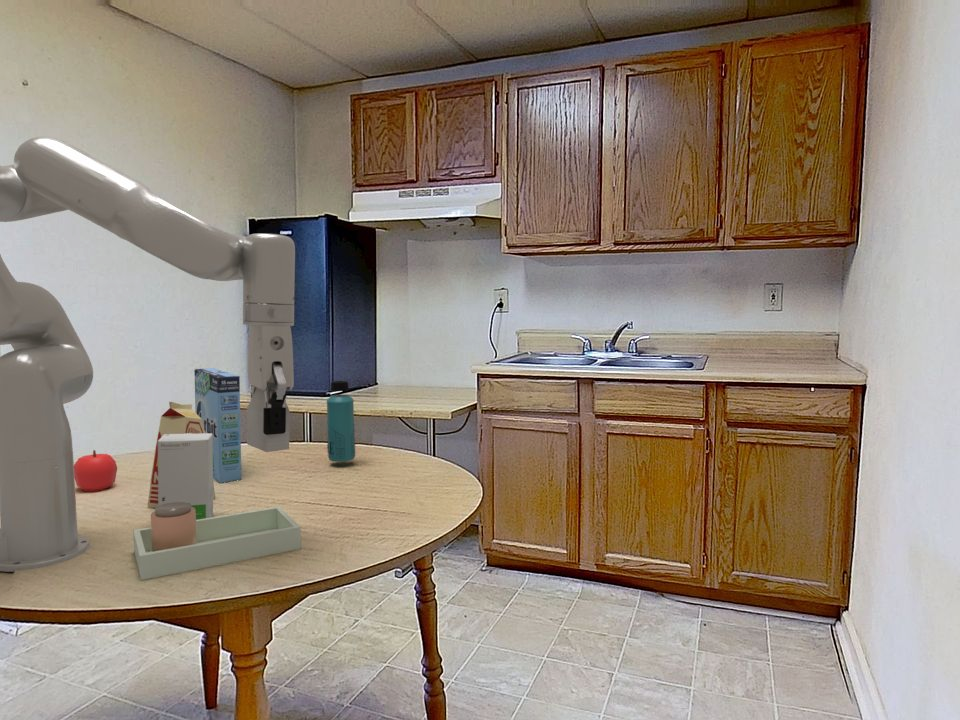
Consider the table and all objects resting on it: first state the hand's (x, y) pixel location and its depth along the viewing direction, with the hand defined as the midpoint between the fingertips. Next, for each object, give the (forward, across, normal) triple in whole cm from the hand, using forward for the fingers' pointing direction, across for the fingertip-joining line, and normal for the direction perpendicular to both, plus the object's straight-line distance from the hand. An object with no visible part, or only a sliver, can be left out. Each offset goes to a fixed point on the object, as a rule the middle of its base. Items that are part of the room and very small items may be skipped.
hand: (267, 428), depth 102 cm
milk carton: (+20, +31, +8) cm, 38 cm away
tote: (+19, 0, +7) cm, 20 cm away
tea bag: (+3, 0, 0) cm, 3 cm away
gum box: (+20, +51, -2) cm, 55 cm away
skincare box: (+20, +17, +9) cm, 28 cm away
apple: (+21, +51, +22) cm, 59 cm away
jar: (+19, 0, +13) cm, 23 cm away
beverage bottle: (+19, +43, -28) cm, 55 cm away
